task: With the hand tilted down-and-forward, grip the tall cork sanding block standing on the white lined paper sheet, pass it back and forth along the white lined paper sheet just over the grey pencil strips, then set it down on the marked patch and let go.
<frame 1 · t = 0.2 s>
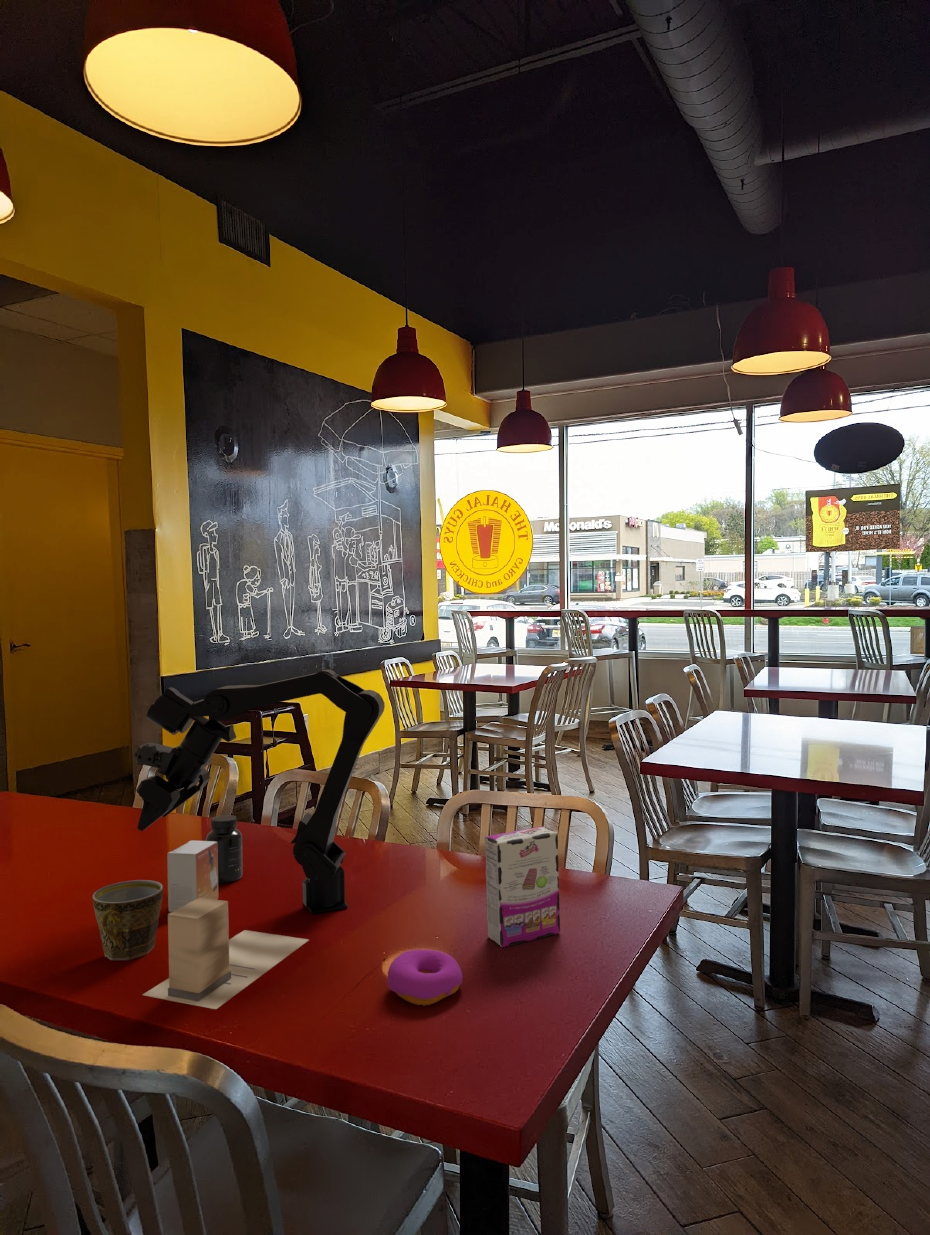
hand: (151, 822, 145), 15 cm above the table, tool tilted 35°, fingers open, 9 cm apart
white lined paper sheet: (231, 970, 118), on the table
donut: (424, 992, 112), on the table
ceramic cup: (125, 961, 123), on the table
sanding block: (200, 986, 112), point 1 cm above the table, touching white lined paper sheet
supplement bottle: (224, 879, 159), on the table
candy bar box: (523, 937, 130), on the table
small box: (194, 906, 145), on the table
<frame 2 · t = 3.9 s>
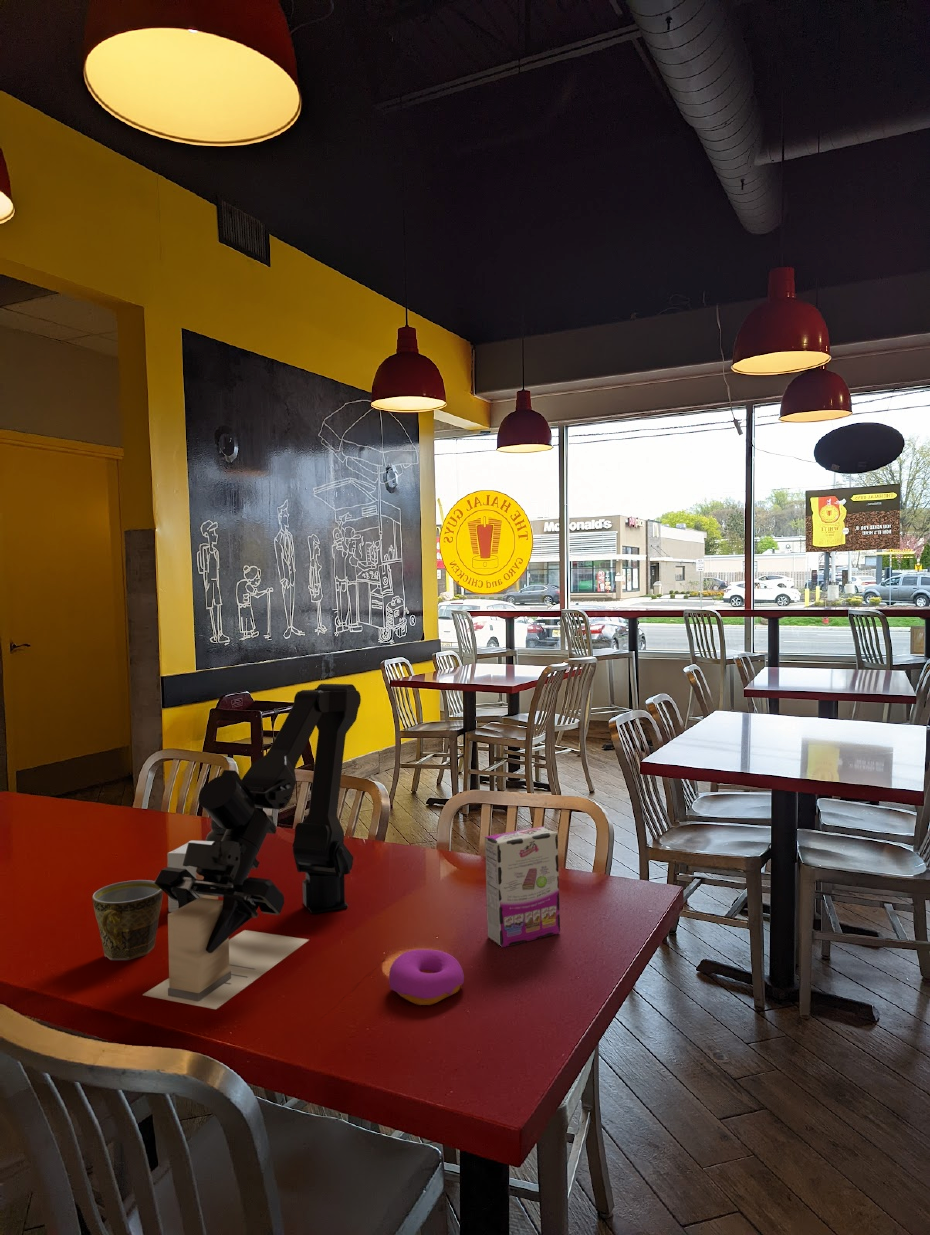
hand: (192, 949, 110), 7 cm above the table, tool tilted 45°, fingers closed on sanding block, 5 cm apart
sanding block: (200, 986, 112), point 1 cm above the table, touching gripper, white lined paper sheet
everything else where it was.
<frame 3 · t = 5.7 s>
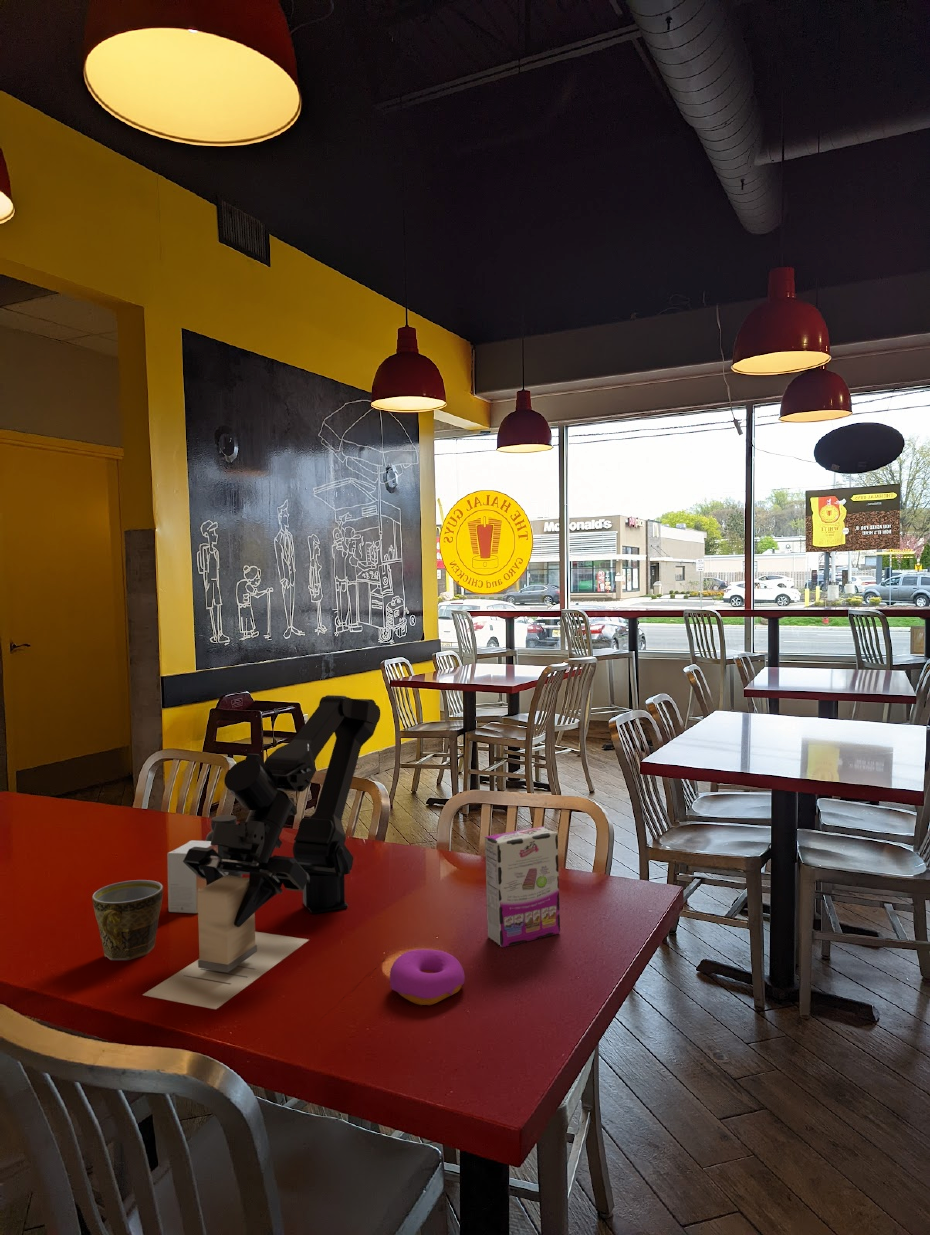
hand: (221, 923, 116), 8 cm above the table, tool tilted 45°, fingers closed on sanding block, 5 cm apart
sanding block: (228, 959, 118), point 2 cm above the table, touching gripper
everything else where it was.
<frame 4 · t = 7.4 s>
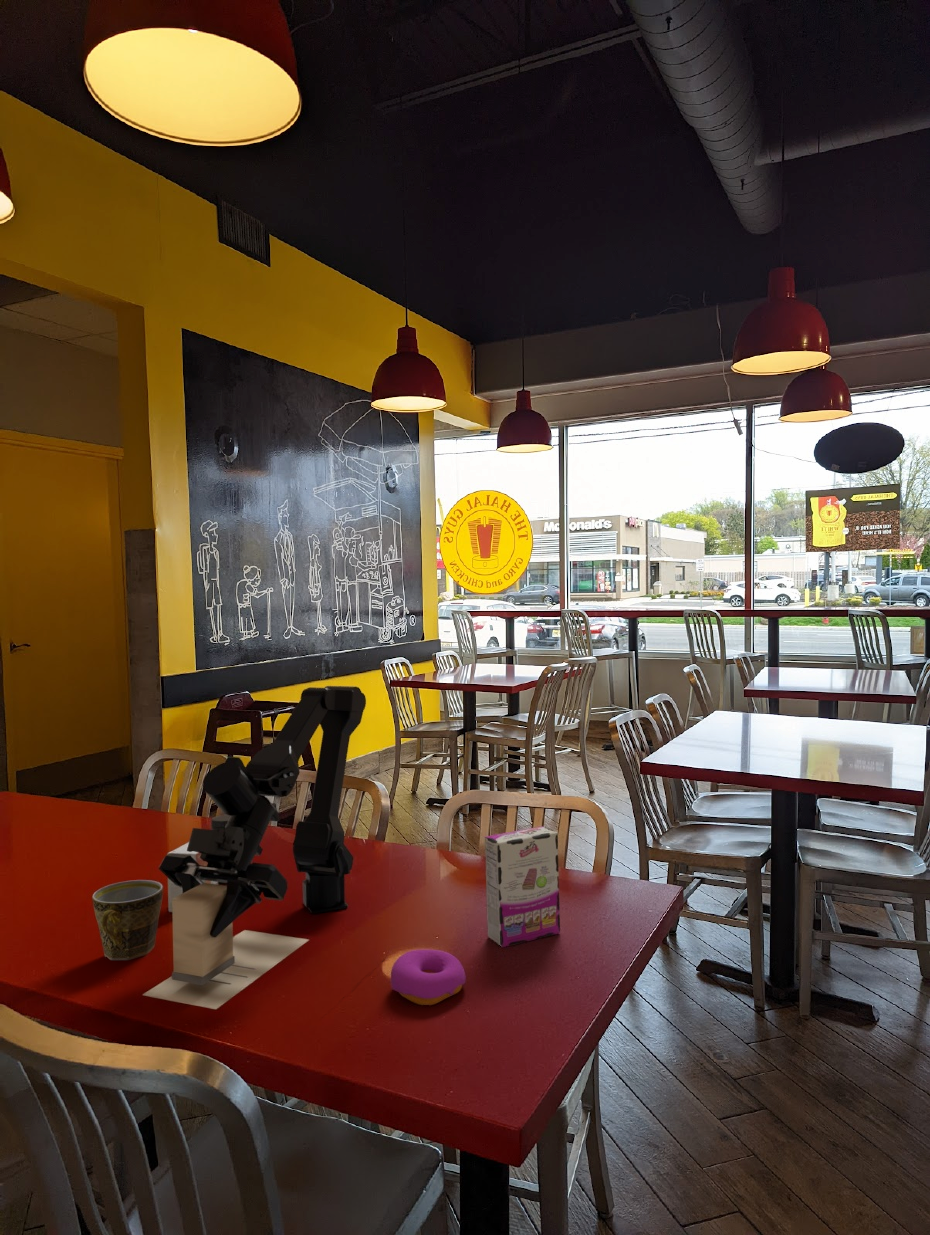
hand: (196, 933, 111), 8 cm above the table, tool tilted 45°, fingers closed on sanding block, 5 cm apart
sanding block: (204, 971, 113), point 3 cm above the table, touching gripper
everything else where it was.
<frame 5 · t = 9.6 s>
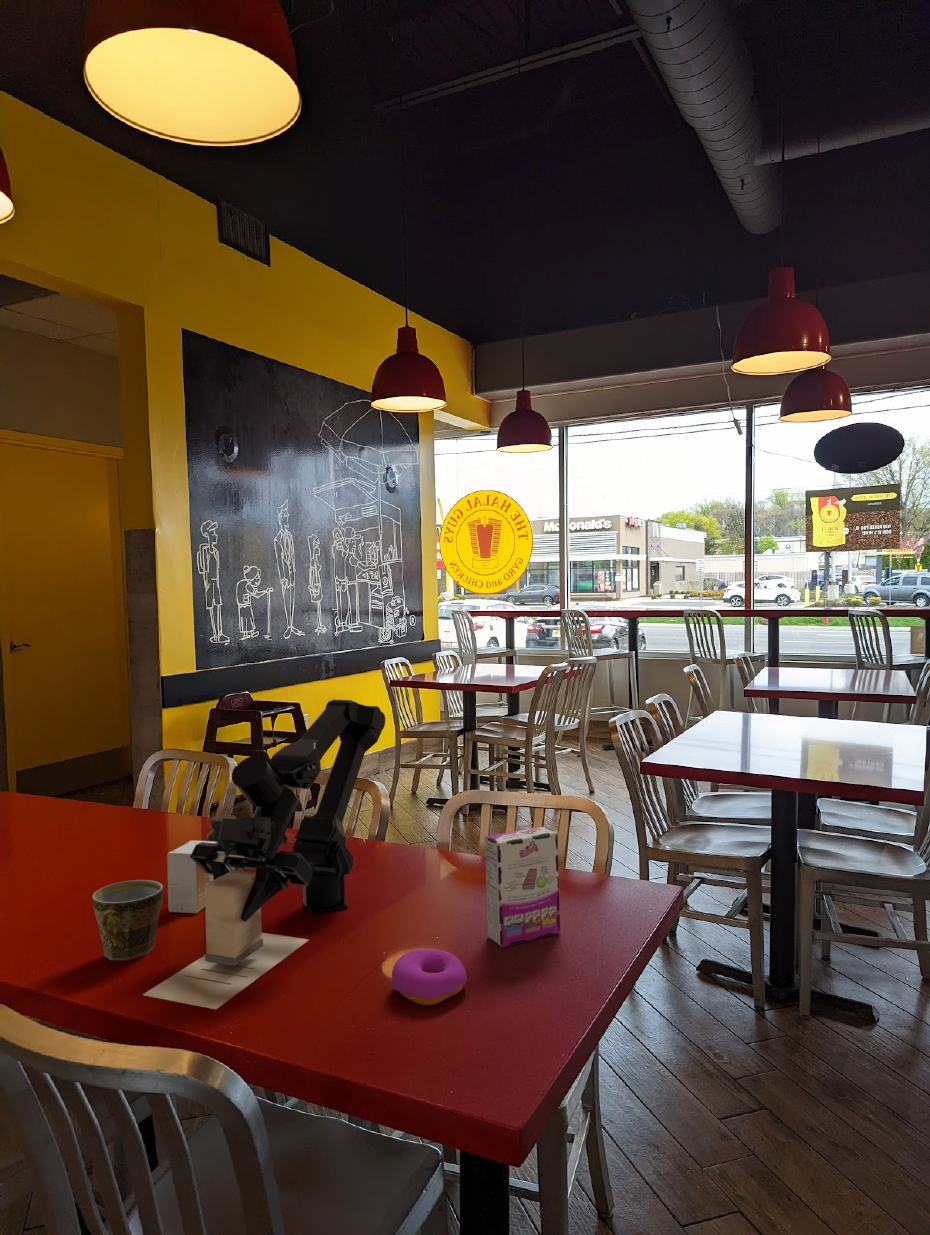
hand: (228, 918, 118), 8 cm above the table, tool tilted 45°, fingers closed on sanding block, 5 cm apart
sanding block: (234, 953, 119), point 2 cm above the table, touching gripper
everything else where it was.
when the fingers open (7 cm above the table, at t = 11.3 s): sanding block stays where it is, resting on white lined paper sheet.
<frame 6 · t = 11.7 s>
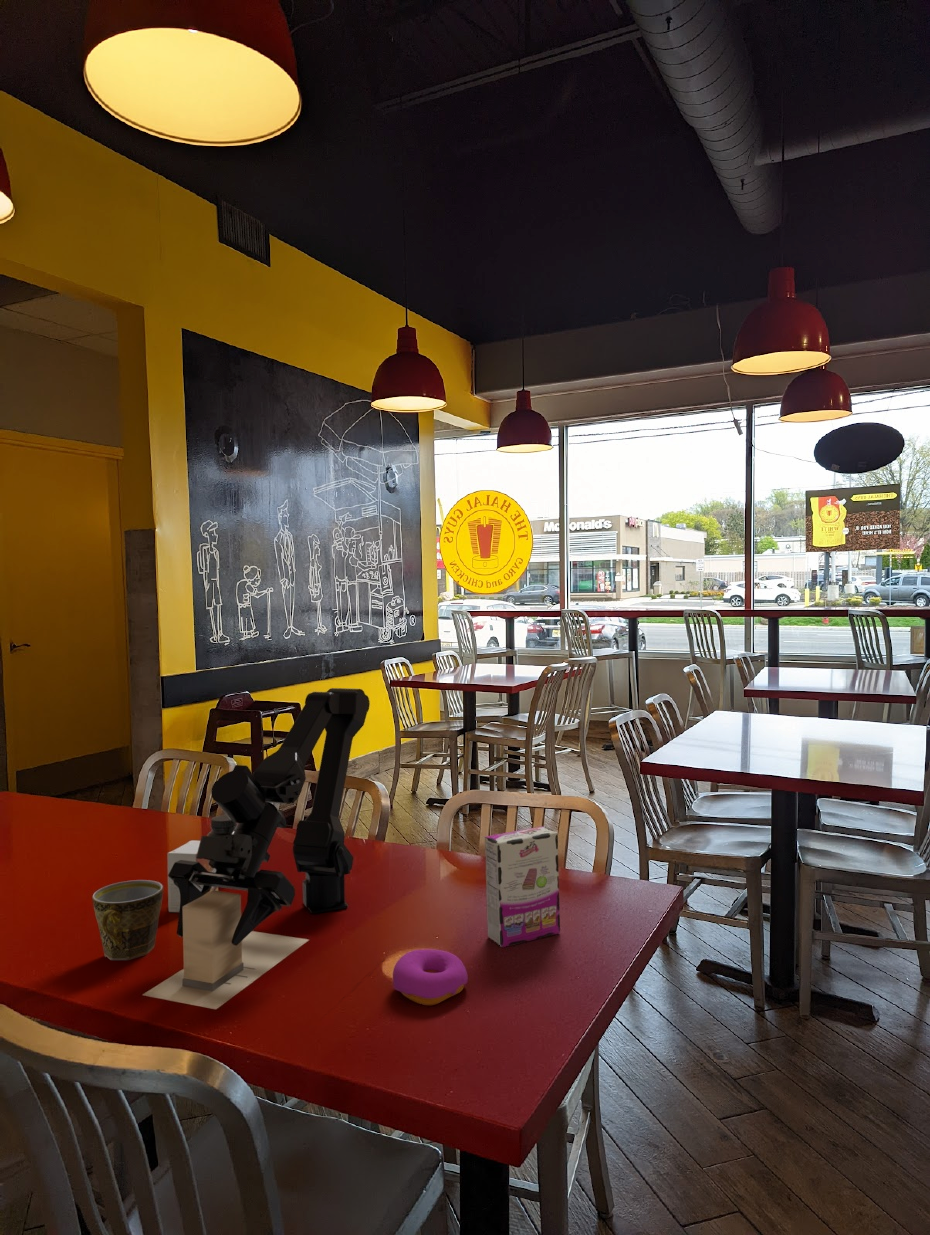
hand: (206, 940, 113), 7 cm above the table, tool tilted 45°, fingers open, 9 cm apart
sanding block: (213, 977, 115), point 1 cm above the table, touching white lined paper sheet
everything else where it was.
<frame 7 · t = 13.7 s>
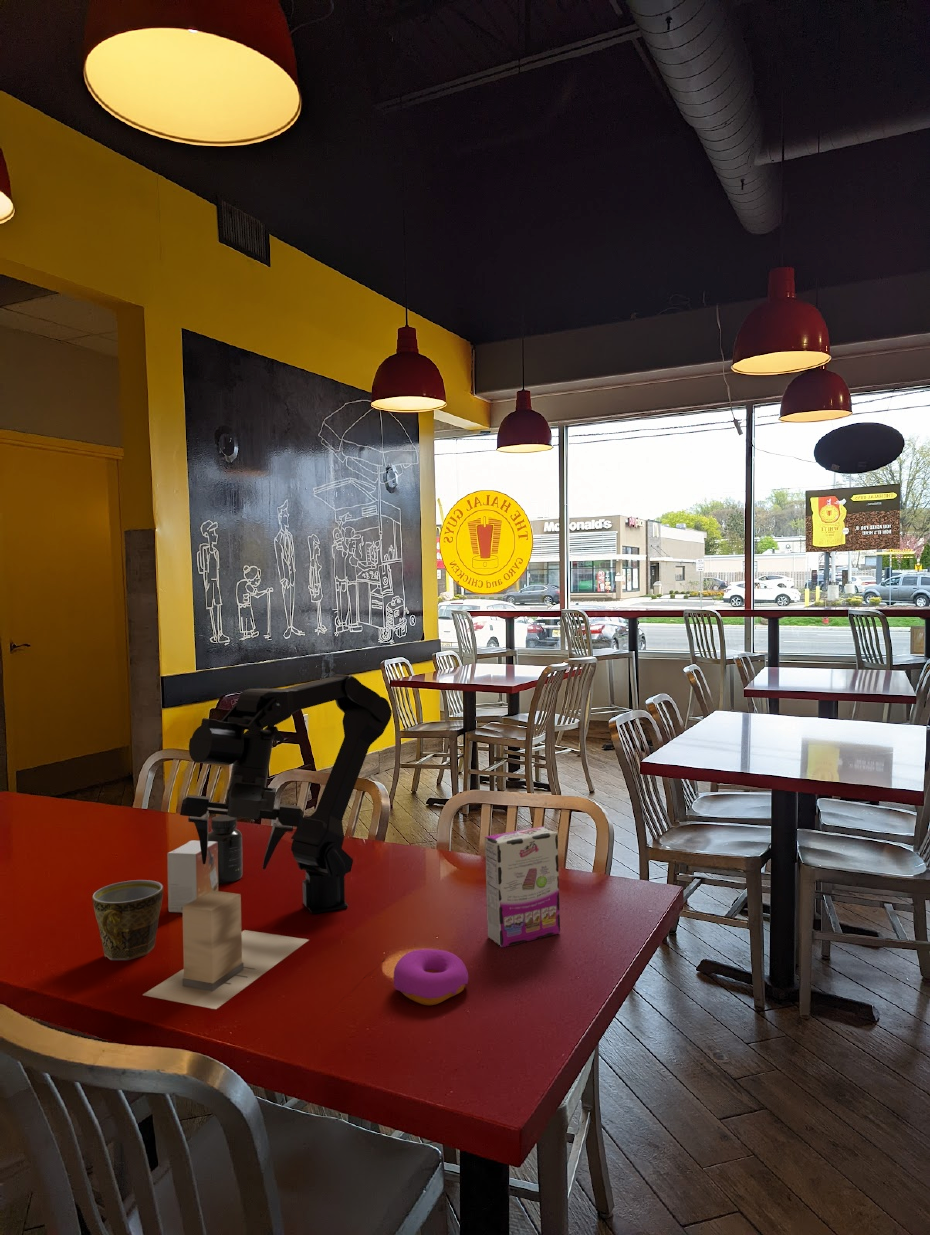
hand: (234, 866, 128), 12 cm above the table, tool pointing down, fingers open, 9 cm apart
nothing on the table moved.
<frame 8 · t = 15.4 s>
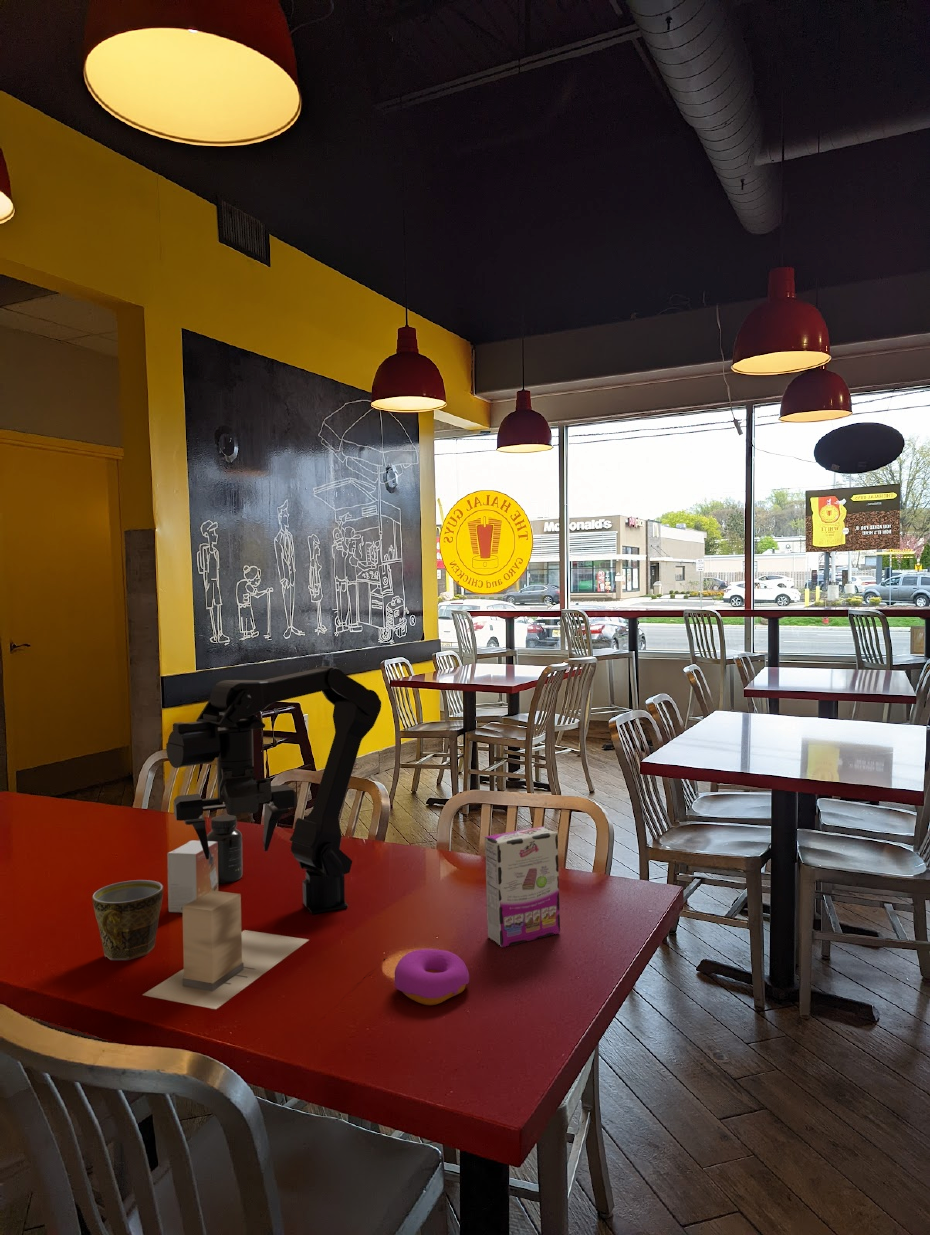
hand: (236, 854, 131), 13 cm above the table, tool pointing down, fingers open, 9 cm apart
nothing on the table moved.
at the end: sanding block inside the target area (0.1 cm from its centre), point 0.8 cm above the table; sanding block tilted 0°; the gripper is holding nothing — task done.
